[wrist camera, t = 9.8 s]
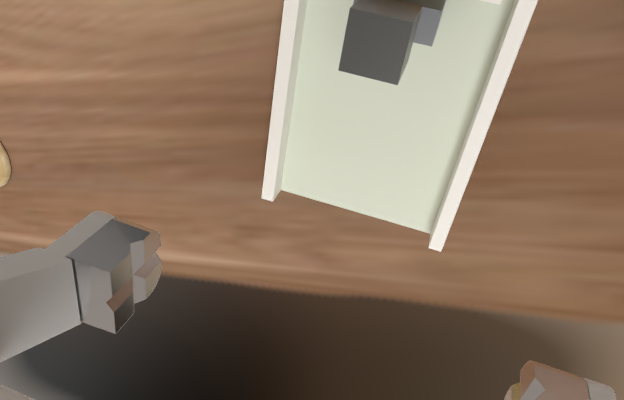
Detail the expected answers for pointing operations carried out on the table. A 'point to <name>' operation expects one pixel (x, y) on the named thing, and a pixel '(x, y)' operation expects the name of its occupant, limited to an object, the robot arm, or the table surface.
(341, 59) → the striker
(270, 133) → the tray
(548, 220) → the table surface
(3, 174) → the hand bell
